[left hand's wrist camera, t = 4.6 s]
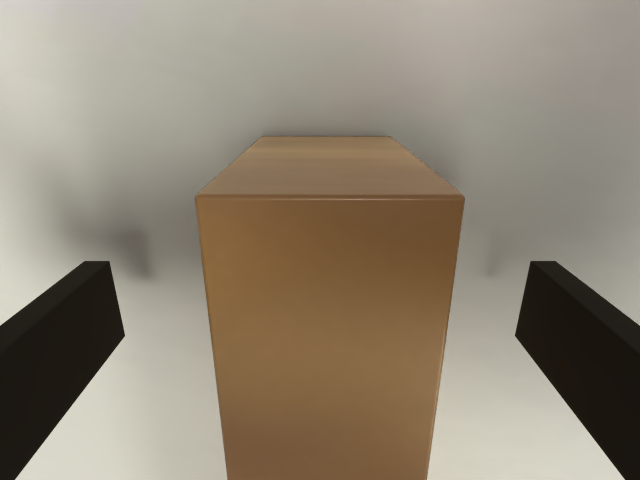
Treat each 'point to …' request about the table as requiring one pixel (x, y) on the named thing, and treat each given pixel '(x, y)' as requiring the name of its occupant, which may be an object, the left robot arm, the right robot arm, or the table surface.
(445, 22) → the table surface
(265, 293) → the beam
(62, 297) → the left robot arm
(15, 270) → the table surface
